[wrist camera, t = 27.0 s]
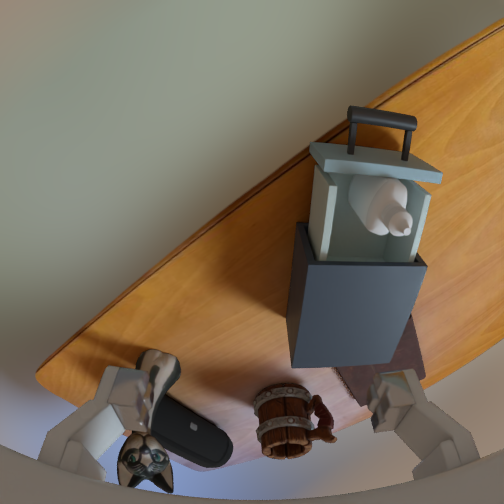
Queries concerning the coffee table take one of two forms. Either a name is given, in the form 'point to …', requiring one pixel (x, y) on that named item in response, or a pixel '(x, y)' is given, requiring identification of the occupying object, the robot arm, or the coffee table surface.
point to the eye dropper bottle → (380, 204)
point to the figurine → (149, 429)
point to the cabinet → (347, 307)
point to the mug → (290, 421)
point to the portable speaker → (190, 435)
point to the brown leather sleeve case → (386, 365)
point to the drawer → (337, 185)
